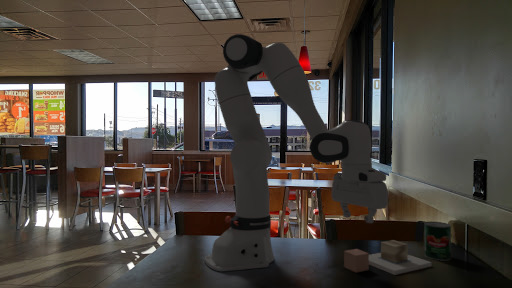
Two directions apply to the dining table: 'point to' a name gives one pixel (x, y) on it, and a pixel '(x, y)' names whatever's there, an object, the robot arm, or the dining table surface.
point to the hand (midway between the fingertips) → (357, 219)
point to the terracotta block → (356, 260)
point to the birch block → (394, 251)
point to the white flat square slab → (398, 264)
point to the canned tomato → (437, 240)
